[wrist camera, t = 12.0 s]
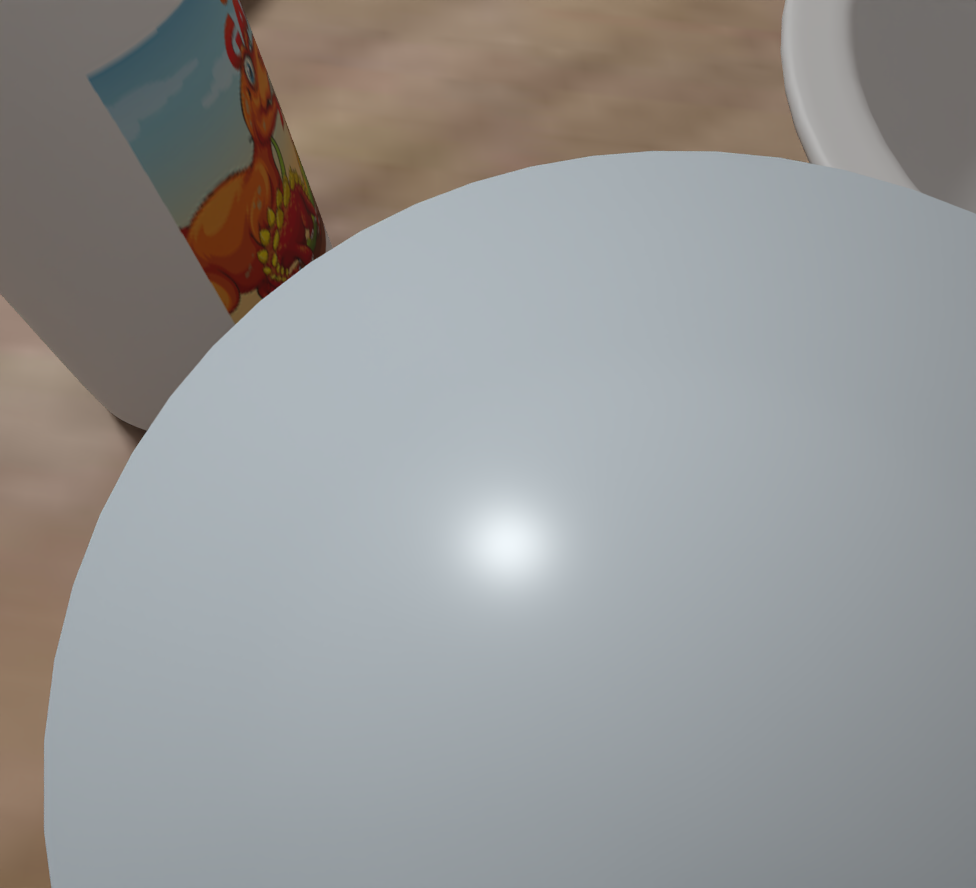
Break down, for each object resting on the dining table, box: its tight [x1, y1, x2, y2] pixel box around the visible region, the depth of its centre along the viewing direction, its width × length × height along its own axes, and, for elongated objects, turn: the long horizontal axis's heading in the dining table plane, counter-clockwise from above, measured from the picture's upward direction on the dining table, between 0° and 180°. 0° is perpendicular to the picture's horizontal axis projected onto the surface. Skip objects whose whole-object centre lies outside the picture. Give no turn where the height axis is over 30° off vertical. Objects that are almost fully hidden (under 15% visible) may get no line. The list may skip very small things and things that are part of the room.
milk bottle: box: [0, 0, 333, 430], centre depth 17 cm, size 8×8×20 cm
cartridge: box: [44, 151, 976, 888], centre depth 10 cm, size 5×5×14 cm
